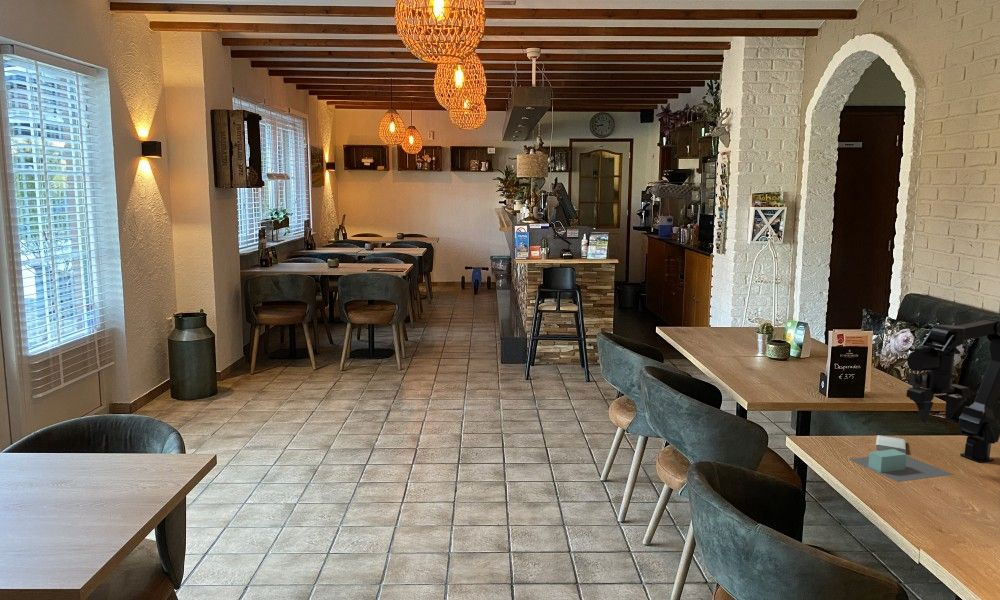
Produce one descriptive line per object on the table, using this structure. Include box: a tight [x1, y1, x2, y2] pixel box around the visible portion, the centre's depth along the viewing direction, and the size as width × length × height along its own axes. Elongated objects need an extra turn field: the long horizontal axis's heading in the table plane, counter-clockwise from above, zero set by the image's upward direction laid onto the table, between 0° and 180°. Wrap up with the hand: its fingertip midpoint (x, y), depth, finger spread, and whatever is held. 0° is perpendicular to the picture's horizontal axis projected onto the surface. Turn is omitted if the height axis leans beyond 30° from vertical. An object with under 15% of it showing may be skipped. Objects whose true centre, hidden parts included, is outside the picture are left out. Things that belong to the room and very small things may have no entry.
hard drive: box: [875, 434, 907, 454], centre depth 235 cm, size 2×8×12 cm
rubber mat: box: [848, 455, 954, 483], centre depth 217 cm, size 20×18×1 cm
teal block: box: [868, 449, 908, 473], centre depth 216 cm, size 4×4×9 cm
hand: (935, 421), depth 219 cm, fingers open, 9 cm apart
